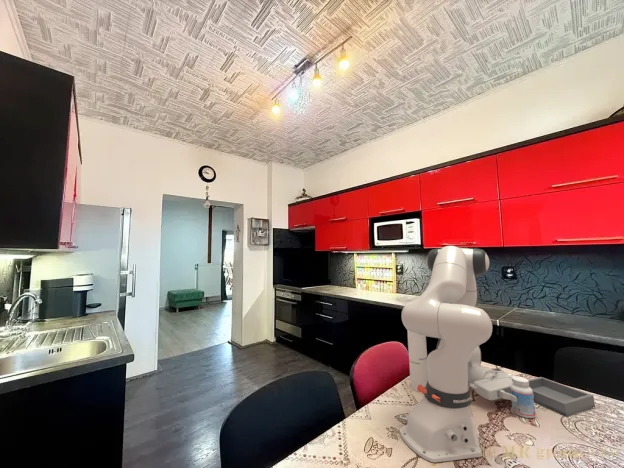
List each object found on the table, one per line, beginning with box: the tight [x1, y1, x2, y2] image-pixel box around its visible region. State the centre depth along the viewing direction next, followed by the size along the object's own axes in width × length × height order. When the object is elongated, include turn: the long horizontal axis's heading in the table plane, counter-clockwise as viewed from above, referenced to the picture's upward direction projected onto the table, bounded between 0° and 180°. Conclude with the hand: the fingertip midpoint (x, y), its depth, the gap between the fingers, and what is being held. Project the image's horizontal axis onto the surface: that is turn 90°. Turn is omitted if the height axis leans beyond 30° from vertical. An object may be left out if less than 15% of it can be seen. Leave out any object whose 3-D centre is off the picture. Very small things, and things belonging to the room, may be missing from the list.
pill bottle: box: [510, 375, 536, 419], centre depth 87 cm, size 6×6×11 cm
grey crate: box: [528, 376, 596, 418], centre depth 95 cm, size 16×16×4 cm
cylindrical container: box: [406, 329, 428, 393], centre depth 107 cm, size 7×7×25 cm
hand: (524, 397), depth 87 cm, fingers closed on pill bottle, 6 cm apart
